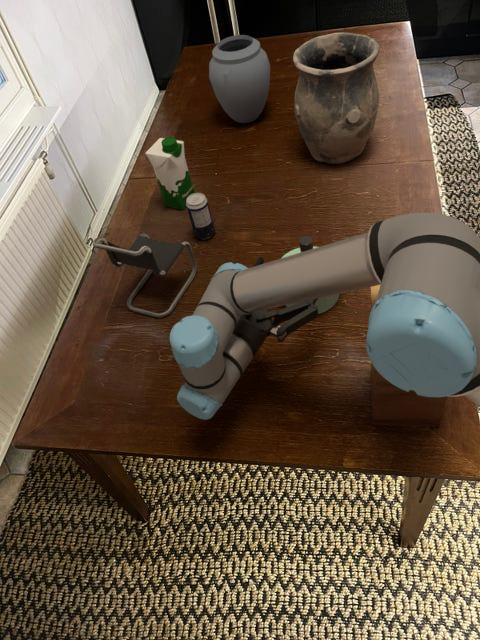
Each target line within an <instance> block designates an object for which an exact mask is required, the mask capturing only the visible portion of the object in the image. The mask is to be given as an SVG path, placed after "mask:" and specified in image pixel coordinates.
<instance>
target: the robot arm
mask: <svg viewBox="0 0 480 640" xmlns="http://www.w3.org/2000/svg"><path fill="white" fill-rule="evenodd" d="M368 229H369V230H368V231H367V232H364V233H361V234H357V235H354V236H351V237H348V238H343V239H341V240H338V241H334V242H331V243H328V244H324V245H322V246H317V247H318V248H314V249H311V250H308V251H304V252H301V253H298V254H294V255H291V256H288V257H284V258H282V257H280V258H277V259H274V260H271V261H268V262H265V260H264V257H263V256H259V258H258V259H257V260H256V261H255V263H254V264H253V266H251V267H247V266H246V265H244V264H241V263H239V262H235V263H233V262H231V261H230V262H225V263H223V264H221V265H220V266H219V267H218V269H217V271H216V272H215V274H213V276H212V277H211V278H210V281H209V282H208V286H207V288H205V291H204V293H203V295H202V297H201V299H200V301H199V302H198V304H197V305H196V308H195V310H194V311H193V313H192V315H187V316H185V317H182V319H181V320H179V321H178V322H176V323H175V324H174V325H173V326H172V328H171V330H170V333H169V343H170V346H171V351H172V356H173V358H174V360H175V361H176V362H177V363H176V364H177V365H178V367H179V369H180V371H181V374H182V376H183V381H184V383H183V384H181V386H180V389H179V391H178V393H177V396H176V400H177V403H178V404H179V405H180V406H181V408H182V409H183V410H184V411H186V412H187V413H188V414H189V415H192V416H193V417H196V418H197V419H200V420H204V421H205V420H210V419H212V418H213V417H214V416H215V414H216V413H217V412H218V410H219V409H220V408H221V407H222V406H223V404H224V402H225V401H226V399H227V398H228V396H229V395H230V393H231V392H232V390H233V388H234V387H235V385H236V384H237V383H238V381H239V380H240V378H241V376H242V375H243V374H244V372H245V371H246V369H247V367H248V366H249V365H250V364H251V362H252V360H253V358H254V356H256V354H258V352H259V350H260V349H261V347H262V346H263V344H264V343H265V341H266V339H267V338H268V337H269V336H273V337H275V338H276V339H277V342H279V343H282V342H284V341H285V340H286V338H287V337H288V336H289V335H290V334H293V333H294V332H296V331H298V330H299V329H301V328H302V327H304V326H305V325H307V324H309V323H310V322H312V321H314V320H315V319H316V318H319V314H318V306H317V305H314V304H315V303H316V301H317V300H318V298H321V297H325V296H330V295H335V294H339V293H340V294H344V293H349V292H353V291H357V290H363V289H366V288H370V287H372V286H377V285H381V286H380V289H379V293H378V297H377V300H376V303H375V305H374V306H373V308H372V310H370V313H369V315H368V316H369V317H368V323H367V324H368V325H367V333H366V338H365V344H366V345H365V348H366V352H367V356H368V359H369V360H370V363H371V362H372V364H373V366H374V367H375V369H376V370H377V371H378V372H379V373H380V374H381V375H382V376H383V377H384V378H385V379H386V380H387V381H389V382H390V383H392V384H393V385H395V386H397V387H398V388H400V389H402V390H405V391H407V392H409V390H413V391H415V392H416V394H417V395H420V396H425V397H445V396H448V397H450V398H458V397H465V398H466V399H467V400H469V401H470V402H472V403H473V404H474V405H475V406H477V407H478V408H479V409H480V236H479V235H478V234H477V232H476V231H475V230H474V229H472V227H470V225H468V224H466V223H465V222H463V221H461V220H460V219H458V218H456V217H454V216H451V215H447V214H444V213H437V212H411V213H406V214H401V215H397V216H396V215H395V216H393V217H389V218H386V219H383V220H379V221H376V222H374V223H373V224H371V226H370V227H369V228H368ZM302 301H303V302H302ZM297 302H300V303H297ZM293 303H297V304H295V305H292V306H289V307H286V306H285V305H288V304H293ZM282 306H283V307H284V306H285V307H284V308H281V309H278V310H277V309H274V308H278V307H282ZM268 309H269V310H270V309H273V310H270V311H269V310H268ZM272 318H273V319H272ZM281 323H282V324H281Z"/></svg>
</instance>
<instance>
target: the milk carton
mask: <svg viewBox="0 0 480 640" xmlns="http://www.w3.org/2000/svg"><path fill="white" fill-rule="evenodd" d="M145 156H146V157H147V159H148V161H149V162H150V164H151V165H152V168H153V171H154V174H155V177H156V180H157V183H158V187H159V190H160V194H161V198H162V203H163V206H164V207H168V208H172V209H175V210H176V209H178V210H180V211H181V210H182V211H186V210H187V207H186V200H187V197H188V196H189V195H191V194H193V193H196V189H195V188H194V185H193V182H192V178H191V175H190V171H189V167H188V163H187V160H186V157H185V156H186V155H185V142H184V141H183V140H178V139H177V138H176V137H174V136H168V137H159V138H158V139H157V140H156V141H155V142H154V143H153V144H152V145H151V147H150V148H149V149H147V151H146V152H145Z"/></svg>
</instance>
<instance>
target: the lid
mask: <svg viewBox="0 0 480 640" xmlns="http://www.w3.org/2000/svg"><path fill="white" fill-rule="evenodd" d="M313 239H314V238H312V236H309V235H305V236H301V238H299V247H296V248H294V249H292V250H290V251H288V252H287V253H284V255H283V256H282V257H281V258H284V257H288V256H291V255H294V254H298V253H301V252H304V251H308V250H311V249H314V248H318V247H319V246H316V245H315V246H314V240H313Z"/></svg>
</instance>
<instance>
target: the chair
mask: <svg viewBox="0 0 480 640" xmlns="http://www.w3.org/2000/svg"><path fill="white" fill-rule="evenodd" d="M92 247H94V248H96V249H99V250H103V251H106V254H107V256H108V259H109V260H110V262H111V265H113V266H114V267H116V268H120V267H122V266H123V265H127V266H131V267H136V268H139V269H145V270H147V271H146V273H145V274H144V276H143V277H142V279H141V280H140V282H138V284H137V286H136V287H135V288H134V290H133V291H132V292H131V293H130V295H129V297H128V298H127V300H126V307H127V309H128V310H129V311H130V312H134V313H138V314H142V315H145V316H149V317H152V318H157V319H160V318H166V317H167V316H169V315H171V314H172V312H173V311H174V309H175V308H176V306H177V305H178V303H179V302H180V300H181V299H182V297H183V296H184V294H185V292H186V291H187V289H188V288H189V286H190V285H191V282H192V281H193V279H194V278H195V276H196V274H197V263H196V260H195V257H194V256H195V255H194V253H193V249H192V246H191V244H190V242H188V241H186V240H185V241H182V242H181V243H175V242H167V241H160V240H157V239H153V238H150V236H149V235H148V233H141V234H139V235H138V237H136V239H135V241H134V242H133V243H132V244H131V245H130V246H129V248H124V247H122V246H119V245H116V244H114V243H112V242H110V241H108V240H107V239H106V238H105V237H103V236H97V237H96V238H94V239H93V240H92ZM184 248H186V251H187V254H188V257H189V260H190V264H191V273H190V275H189V276H188V278H187V280H186V281H185V282H184V284H183V286H182V288H181V289H180V290H179V291H178V293H177V294H176V297H175V298H174V299H173V301H172V303H171V305H170V306H169V308H167V310H166V311H164V312H161V313H159V312H154V311H150V310H146V309H142V308H139V307H135V306H133V305H132V302H133V300H134V299H135V297H136V296H137V295H138V293H139V291H140V290H141V289H142V287H143V286H144V284H145V283H146V281H147V280H148V279H149V277H150V276H151V275H152V273H153V272H154V274H155V275H156V276H157V277H159V278H160V277H164V276H165V275H167V274H168V272H169V271H170V269H171V267H172V266H173V265H174V263H175V262H176V261H177V260H178V258H179V256H180V254H181V253H182V252H183V250H184Z"/></svg>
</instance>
